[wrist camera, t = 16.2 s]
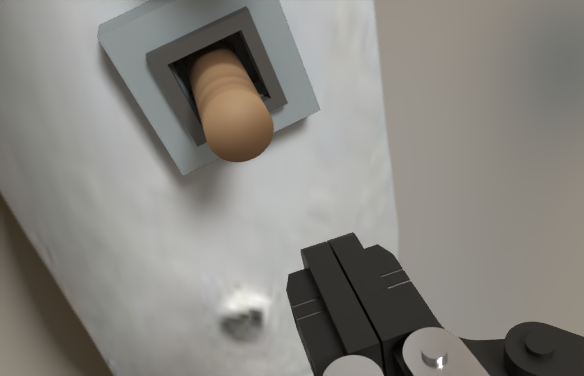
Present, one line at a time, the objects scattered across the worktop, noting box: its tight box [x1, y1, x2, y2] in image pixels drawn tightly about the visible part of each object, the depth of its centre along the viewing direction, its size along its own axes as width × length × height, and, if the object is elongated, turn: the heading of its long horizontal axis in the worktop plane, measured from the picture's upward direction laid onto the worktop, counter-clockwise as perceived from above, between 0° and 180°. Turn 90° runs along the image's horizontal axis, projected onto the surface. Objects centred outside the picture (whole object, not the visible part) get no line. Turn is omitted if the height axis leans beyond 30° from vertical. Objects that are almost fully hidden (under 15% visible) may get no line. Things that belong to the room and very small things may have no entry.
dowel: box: [186, 40, 274, 162], centre depth 35 cm, size 4×4×12 cm
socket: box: [97, 0, 320, 176], centre depth 38 cm, size 12×12×4 cm
